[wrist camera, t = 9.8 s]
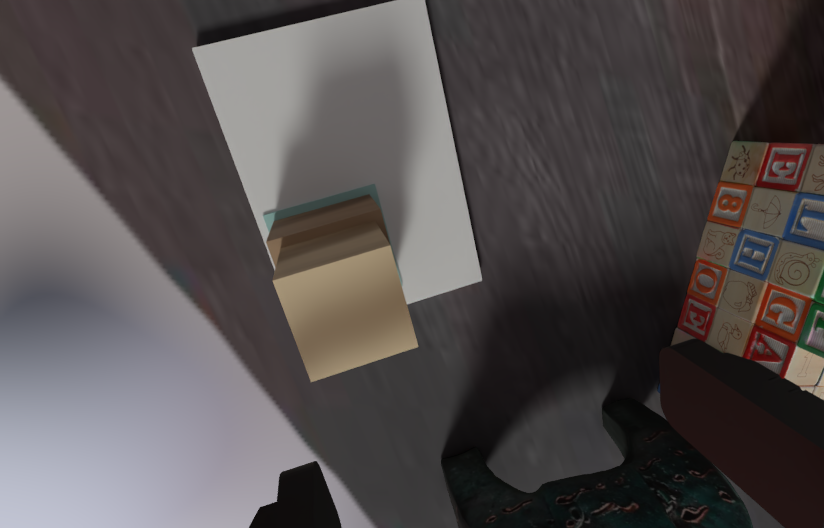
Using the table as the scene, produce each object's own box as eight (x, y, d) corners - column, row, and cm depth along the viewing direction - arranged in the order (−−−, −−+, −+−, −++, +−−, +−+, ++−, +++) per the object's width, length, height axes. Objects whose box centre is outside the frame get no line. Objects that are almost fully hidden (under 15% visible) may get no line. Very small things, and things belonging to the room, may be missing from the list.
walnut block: (273, 221, 28) (265, 241, 23) (369, 194, 28) (380, 208, 24) (305, 308, 30) (303, 343, 25) (393, 281, 30) (408, 310, 26)
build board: (196, 50, 25) (190, 47, 24) (419, -2, 27) (424, -7, 26) (300, 331, 31) (299, 339, 30) (477, 275, 33) (483, 281, 32)
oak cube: (280, 248, 23) (272, 280, 19) (375, 220, 24) (390, 245, 19) (311, 332, 25) (311, 382, 20) (398, 304, 25) (418, 346, 21)
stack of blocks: (713, 390, 41) (867, 494, 30) (653, 390, 40) (792, 501, 28) (796, 147, 35) (1029, 160, 24) (730, 137, 34) (944, 147, 22)
